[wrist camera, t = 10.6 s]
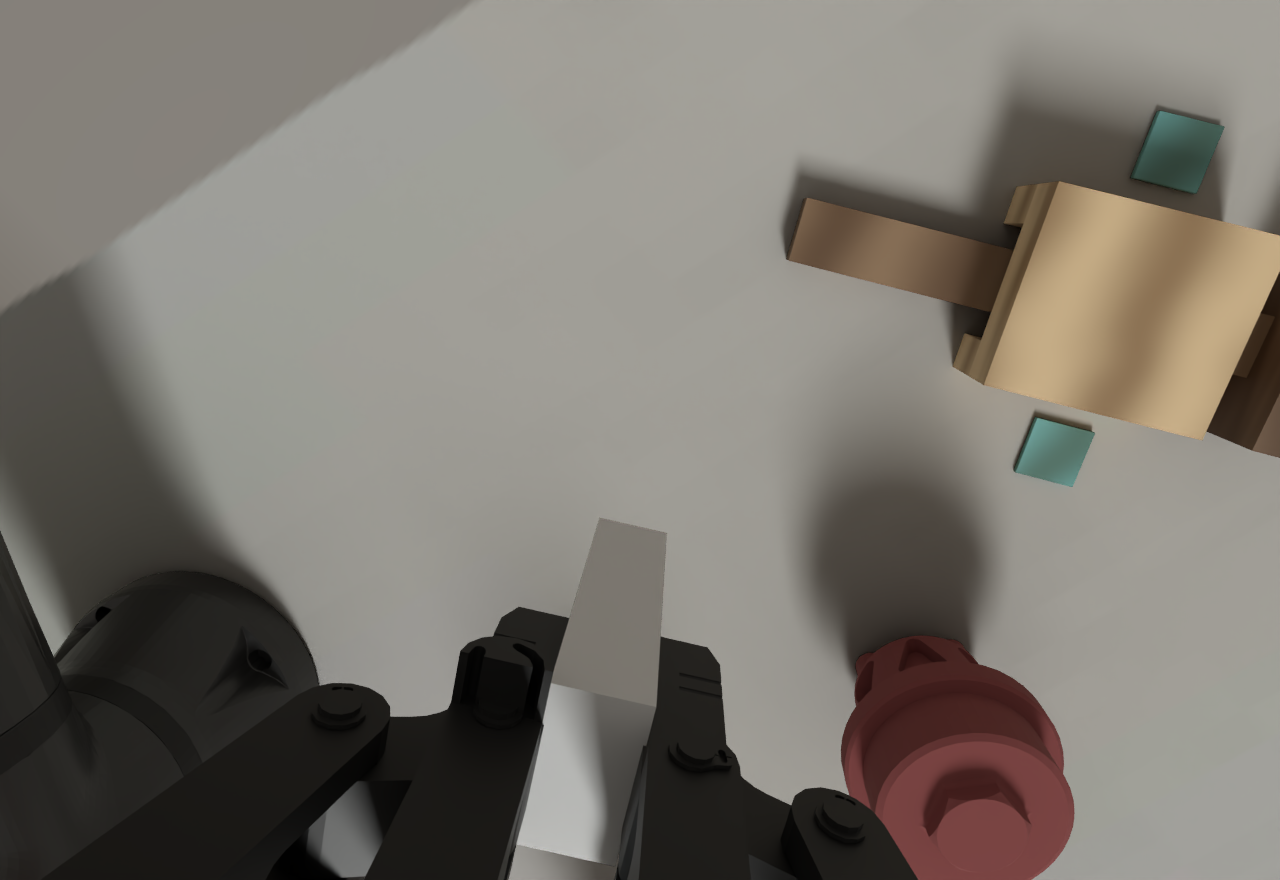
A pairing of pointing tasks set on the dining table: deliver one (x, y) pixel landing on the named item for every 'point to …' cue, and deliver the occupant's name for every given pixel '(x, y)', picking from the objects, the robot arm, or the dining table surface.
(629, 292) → the dining table surface
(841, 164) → the dining table surface
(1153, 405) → the light wooden box
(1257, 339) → the wooden block assembly
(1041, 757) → the mechanical component
